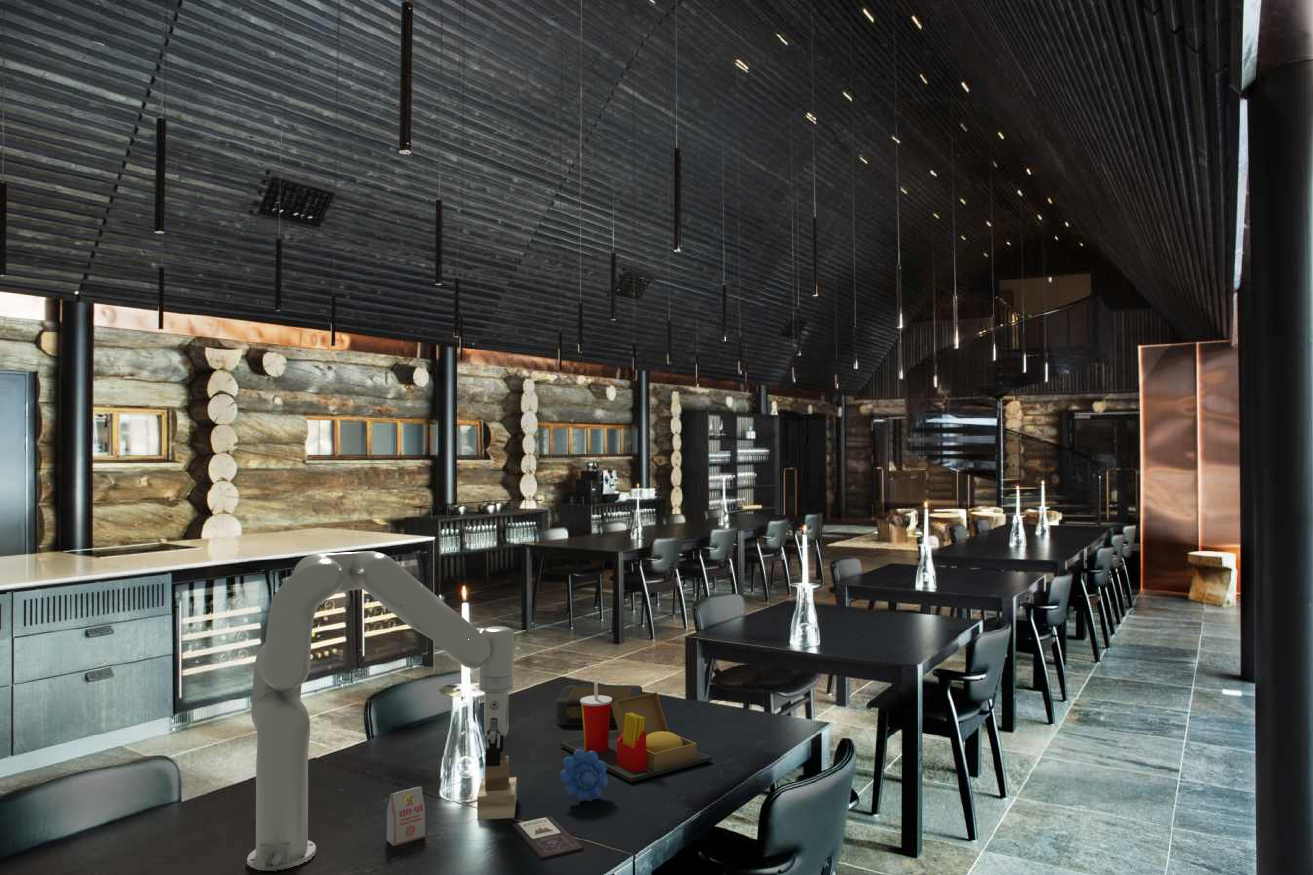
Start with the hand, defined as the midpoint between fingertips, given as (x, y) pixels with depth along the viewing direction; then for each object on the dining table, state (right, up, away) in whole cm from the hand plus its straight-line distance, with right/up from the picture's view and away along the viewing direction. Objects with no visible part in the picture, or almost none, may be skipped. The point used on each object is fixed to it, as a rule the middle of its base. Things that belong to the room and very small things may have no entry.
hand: (494, 758), depth 194 cm
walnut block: (+1, -6, 0) cm, 6 cm away
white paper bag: (-16, -11, -15) cm, 24 cm away
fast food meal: (+31, -13, +36) cm, 49 cm away
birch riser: (+1, -11, 0) cm, 11 cm away
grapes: (+20, -12, +3) cm, 24 cm away
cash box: (+19, -15, +72) cm, 76 cm away
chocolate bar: (+14, -11, -16) cm, 24 cm away
